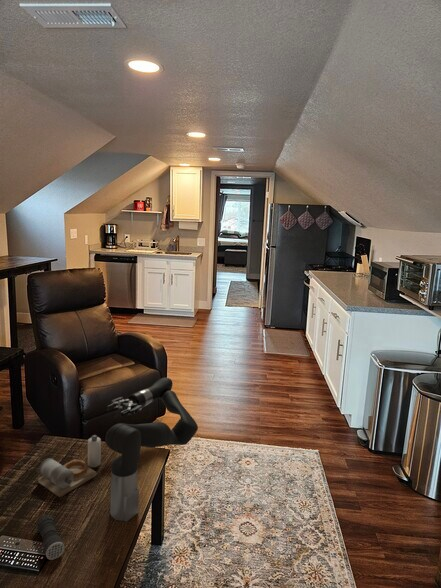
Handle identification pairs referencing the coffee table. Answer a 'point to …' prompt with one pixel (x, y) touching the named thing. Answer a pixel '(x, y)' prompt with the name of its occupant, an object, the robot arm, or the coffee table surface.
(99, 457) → the white capped bottle
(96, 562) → the coffee table surface
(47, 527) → the flashlight
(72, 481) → the motor mount
